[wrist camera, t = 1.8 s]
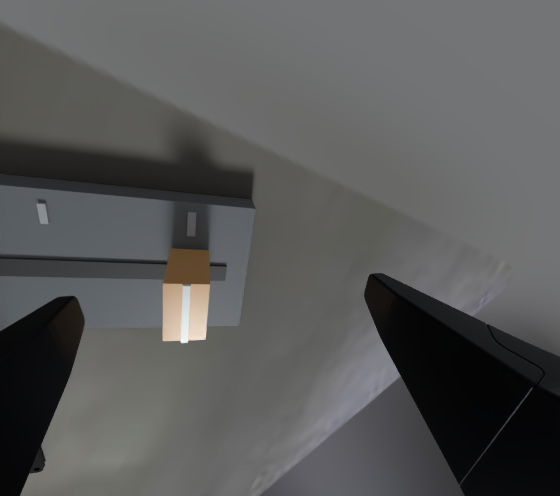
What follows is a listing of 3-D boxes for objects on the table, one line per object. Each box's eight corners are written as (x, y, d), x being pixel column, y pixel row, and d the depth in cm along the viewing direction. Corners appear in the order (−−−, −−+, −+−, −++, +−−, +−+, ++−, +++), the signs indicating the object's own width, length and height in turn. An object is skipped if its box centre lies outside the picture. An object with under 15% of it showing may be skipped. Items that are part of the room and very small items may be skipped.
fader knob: (205, 299, 21) (205, 342, 17) (170, 299, 20) (162, 343, 17) (209, 250, 19) (209, 286, 16) (170, 248, 19) (162, 285, 15)
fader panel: (236, 309, 25) (239, 327, 23) (-140, 311, 18) (-179, 336, 17) (251, 199, 21) (256, 209, 19) (-231, 150, 14) (-298, 159, 12)
